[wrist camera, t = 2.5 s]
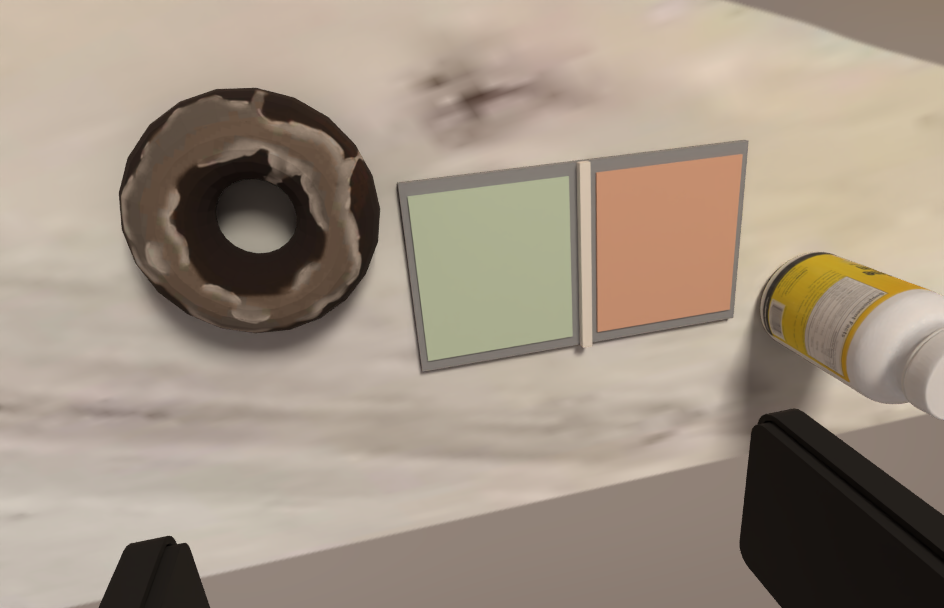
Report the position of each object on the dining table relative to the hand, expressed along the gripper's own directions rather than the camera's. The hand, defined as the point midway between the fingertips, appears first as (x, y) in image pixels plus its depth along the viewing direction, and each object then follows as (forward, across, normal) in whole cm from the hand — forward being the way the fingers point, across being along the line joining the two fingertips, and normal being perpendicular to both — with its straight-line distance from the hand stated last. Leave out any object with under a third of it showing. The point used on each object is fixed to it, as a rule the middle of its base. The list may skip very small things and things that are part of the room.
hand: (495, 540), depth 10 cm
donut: (+25, +6, -1) cm, 25 cm away
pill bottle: (+24, -26, +9) cm, 37 cm away
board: (+24, -11, +4) cm, 27 cm away
